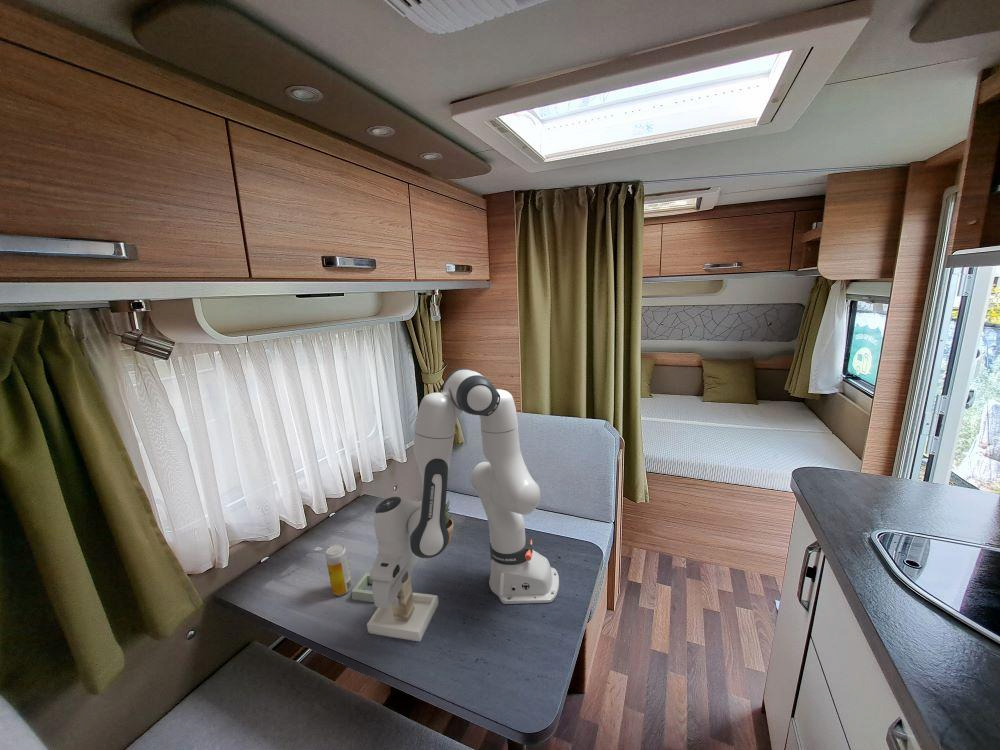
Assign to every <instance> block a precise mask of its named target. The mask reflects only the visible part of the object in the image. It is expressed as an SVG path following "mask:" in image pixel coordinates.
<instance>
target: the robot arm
mask: <svg viewBox="0 0 1000 750" xmlns="http://www.w3.org/2000/svg"><path fill="white" fill-rule="evenodd" d="M438 391H439V392H430V393H429V394H425V396H423V398H422V399H421V401H420V403H419V407H418V411H417V415H416V418H415V424H414V430H413V431H414V432H413V452H414V453H413V454H414V459H415V461H416V464H417V468H418V471H419V474H420V479H421V487H422V488H421V489H422V491H421V499H419V500H408V499H404V498H402V497H401V496H391V497H388V498H387V497H386V499H383V500H382V501H381V502H380V503H378V505H377V506H376V508H375V510H374V515H373V517H374V518H373V521H374V533H375V537H376V539H377V542H378V544H377V551H378V553H377V555H376V558H375V560H374V563H373V564H372V565H373V566H372V568H371V569H370V571H369V573H370V579H373V583H372V584H371V589H372V590H371V591H373V598H374V602H373V603H374V605H375V606H376V608H378V607H379V608H389V607H390V605H391V604H393V606H398V605H399V603H400V602H401V600H400V597H397V596H398V593H399V591H400V589H401V588H402V586H401V584H402V578H403V577H404V575H405V574H406V572H407V571H408V574H410V579H411V577H412V573H413V570H414V569H415V567H416V565H417V564H418V563H419V561H420V559H432V558H435V557H436V556H439V555H441V553H442V552H444V551H445V549H446V548H447V547H448V544H449V543H450V542H449V533H448V530H447V528H446V524H445V507H446V504H447V495H448V494H447V492H448V481H449V479H448V478H449V471H450V463H451V460H452V459H451V458H452V453H453V447H454V439H455V435H456V434H455V432H456V424H457V422H458V418H459V417H460V415H461V414H462V413H463V412H464V413H466V414H468V415H472V416H479V419H480V423H479V424H480V433H481V443H482V445H481V446H482V453H483V455H484V457H485V459H486V460H487V461H482V462H480V463H478V464H476V465H475V466H474V468H473V469H472V471H471V475H470V483H471V486H472V487H473V489H474V490H475V492H476V494H477V496H478V497H479V499H480V503H481V504H482V507H483V509H484V512H485V515H486V519H487V523H488V528H489V529H488V530H489V537H490V538H489V539H490V542H489V557H490V560H491V565H490V567H491V568H490V576H489V579H488V584H489V588H490V590H491V591H492V592H493V593H494V594H495V595H496V596H497V597H498V599H499V600H500V602H501V603H502V604H504V605H508V604H510V605H511V604H512V605H513V604H514V605H516V604H517V605H518V604H544V603H545V604H546V603H547V604H548V603H551V602H553V601H554V600H555V599H556V597H557V595H558V593H559V589H560V577H559V573H558V571H557V569H556V568H554V567H552V566H551V565H550V562H549V560H548V558H547V557H545V556H544V555H542V554H540V553H539V552H538V551H535V550H534V549H533V539H530V542H529V541H528V540H527V538H526V529H525V527H526V526H525V519H524V516H527V515H529V514H531V513H533V512H534V511H535V510H536V509H537V507H538V506H539V504H540V501H541V489H540V486H539V484H538V483H537V482H536V481H535V480H534V478H533V477H532V475H531V474H530V472H529V470H528V467H527V465H526V463H525V460H524V458H523V453H522V450H521V443H520V435H519V434H520V433H519V431H520V430H519V421H518V420H519V419H518V414H517V408H516V403H515V400H514V397H513V395H512V394H511V393H510V392H509V391H507V390H505V389H501V388H496V387H495V386H494V385H493V383H492V382H491V380H490V379H488V378H487V377H485V376H484V375H482V374H481V373H479V372H478V371H475V370H471V369H470V368H458V369H455V370H453V371H452V372H450V373H449V374H448V376H447V377H446V379H445V380H444V382H443V383H442V384H441V386H440V387H439V390H438ZM448 542H449V543H448Z"/></svg>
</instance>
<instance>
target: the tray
mask: <svg viewBox="0 0 1000 750" xmlns="http://www.w3.org/2000/svg"><path fill="white" fill-rule="evenodd" d="M412 594H413V601H414V608H415V609H414V611H413V612H412V614H411V616H410V618H409V620H408V621H405V620H398V619H394V616H393V610H392V604H391V605H390V607H389V608H379V607H376V610H375V611H374V612H373V615H372V616H371V618H370V619H369V621H368V622H367V623H366V627H367V633H368V634H371V635H377V636H384V637H389V638H395V639H396V638H397V639H401V640H406V641H407V640H408V641H416V642H422V640H423V637H424V635H425V634H426V632H427V629H428V627H429V624H430V622H432V621H431V620H432V619H433V617H434V614H435V613H436V610H437V609H438V606H439V605H440V604H439V596H438V595H436V594H435V595H434V594H427V593H421V592H413V591H412Z"/></svg>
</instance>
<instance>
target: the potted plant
mask: <svg viewBox="0 0 1000 750" xmlns="http://www.w3.org/2000/svg"><path fill="white" fill-rule="evenodd" d="M450 502H451V501H450V499H448V500H447V501H446V507H445V524H446V528H447V530H448V533H449V542H448V544H450V543H451V540H452V532H453V529H454V520H453V519H452V518H451V517H453V515H452V514H451V515H449V512H450V509H451V507H450Z"/></svg>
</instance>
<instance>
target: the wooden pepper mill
mask: <svg viewBox="0 0 1000 750" xmlns="http://www.w3.org/2000/svg"><path fill="white" fill-rule="evenodd" d="M401 586H402V588H401V589H400V591H399V593H398V596H397V597H400V600H401V602H400V603H399V605H398V606H393V604H392V610H393V616H394V619H398V620H405V621H408V620H409V618H410V616H411V614H412V612H413V611H414V609H415V608H414V601H413V594H412V592H413V587H412V581H411V578H410V574H408V571H407V572H406V574H405V575H404V577H403V578H402V584H401Z"/></svg>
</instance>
